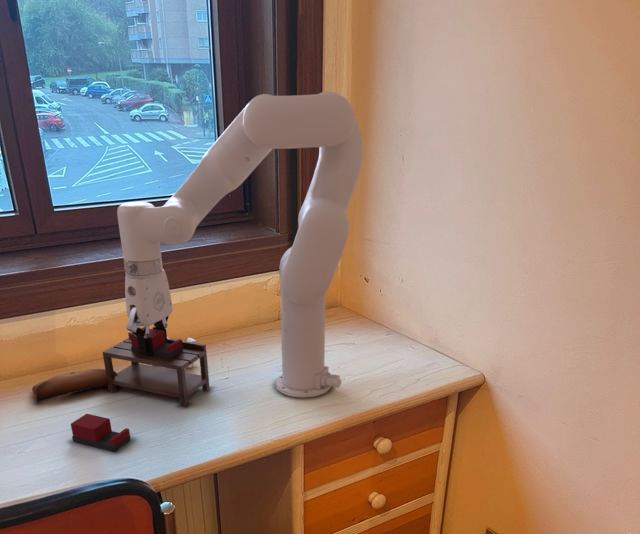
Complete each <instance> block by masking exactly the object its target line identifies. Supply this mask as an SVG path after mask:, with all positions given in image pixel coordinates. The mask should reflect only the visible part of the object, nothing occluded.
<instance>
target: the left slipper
mask: <svg viewBox="0 0 640 534" xmlns="http://www.w3.org/2000/svg"><path fill="white" fill-rule="evenodd" d="M70 428H71V433H72V436H71V438H72V442H73V443H76V444H80V445H85V446H88V447H93V448H97V449H101V450H105V451H109V452H114V453H116V452H118V451H119V450H120V449H122V448H123V447H124V446H126V445H127V444H128V443H129V442H131V439H132V438H131V433H130V428H126V427H125V428H124V429H123V430H121V431H120V432H118V431H114V430H113V429H112V423H111V419H110V418H108V417H104V416H99V415H96V414H92V413H85V414H83V415H82V416H81V417H78V418H77V419H76V420H74V421H73V422H70Z"/></svg>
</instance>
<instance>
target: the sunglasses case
mask: <svg viewBox="0 0 640 534" xmlns="http://www.w3.org/2000/svg"><path fill="white" fill-rule="evenodd" d="M117 373H118V372H116V370H114V376H117V375H118V374H117ZM104 387H108V382H107V376H106V370H105V368H90V369H85V370H79V371H72V372H69V373H63V374H59V375H55V376H53V377H50V378H48V379H46V380H44V381H40V382H38V383H37V384H35V385H33V386H32V387H31V390H32V394H33V396H34V401H35V403H36V404H37V403H39V402H42V401H43V402H44V401H46V400H50V399H55V398H57V397H59V396H65V395H67V394H73V393H80V392H83V391H87V390H94V389H99V388H104Z"/></svg>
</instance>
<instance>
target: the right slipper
mask: <svg viewBox="0 0 640 534" xmlns="http://www.w3.org/2000/svg"><path fill="white" fill-rule="evenodd" d="M140 328H141V327H140ZM141 329H142V330H143V331H144V327H142V328H141ZM130 336H131V343H132V346H131V350H132V352H136V353H139V347H138V340H137V337H135V334H133V333H132V334H130ZM149 337H151V340H152V348H153V356H159V357H164V358H170V359H171V358H172V357H174V356H176V355H177V354H179V353H180V352H182V351H183V346H182V341H183V339H181V338H179V339H176V340H177V341H175V342H173V343H172V344H169V343H166V340H165V332H164V331H161V330H155V329H153V328H149Z"/></svg>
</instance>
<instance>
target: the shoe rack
mask: <svg viewBox="0 0 640 534" xmlns="http://www.w3.org/2000/svg"><path fill="white" fill-rule="evenodd" d="M130 334H132V332H131V331H129V332H128V333H127V335H128V337H127V338H126V339H123V340H122V341H120V342H119V343H117V344H114V345H113V346H112V347H111V346H110V347H109V348H107V349H105V350H103V351H102V358H103V363H104V369H105V370H106V376H107V382H108V386H107V387H108V392H110V393H114V392H116V391H117V386H119V387H124V388H129V389H134V390H139V391H143V392H149V393H154V394H159V395H164V396H169V397H173V398H178V399H179V404H180V407H183V408H187V407H188V406H189V398H188V397H189V396H191V395H192V394H193V393H195V392H196V391H198V390H199V389H200V388H201V390H202V391H208V390H210V388H211V387H210V377H209V366H208V364H209V363H208V356H207V353H208V352H207V345H206V344H205V343H199V342H196V343H193V342H188V341H187V340H182V346H183V351H182V352H180V353H179V354H177V355H176V356H174V357H172V358H171V359H170V358H164V357H159V356H153V355H151V356H150V355H144V354H140V353H136V352H132V350H131V346H132V343H131V336H130ZM177 340H178V339H175V338H170V337H169V338H167V342H168V343H169V344H172V343H173V342H175V341H177ZM113 359H115V360H122V361H128V362H130V365H128V366H126V367H125V368H123V369H121V370H120V371H118V372H116V373H117V374H118V375H117V376H114V371H115V370H114V365H113V364H114V363H113ZM198 360H199V367H200V374H197V373H192V372H187V371H186V369H187V368H189V367H188V366H189V364H192V363H193V364H194V363H196V362H197V361H198ZM160 367H164V368H160ZM165 368H170V369H175V370H170V369H165ZM176 370H177V371H176Z"/></svg>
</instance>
